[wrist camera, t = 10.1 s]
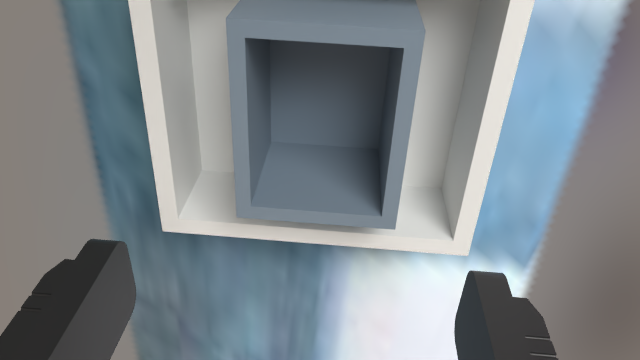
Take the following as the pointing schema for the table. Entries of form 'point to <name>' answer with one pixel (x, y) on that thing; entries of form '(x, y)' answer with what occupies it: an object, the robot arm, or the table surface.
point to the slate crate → (322, 107)
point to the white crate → (424, 142)
